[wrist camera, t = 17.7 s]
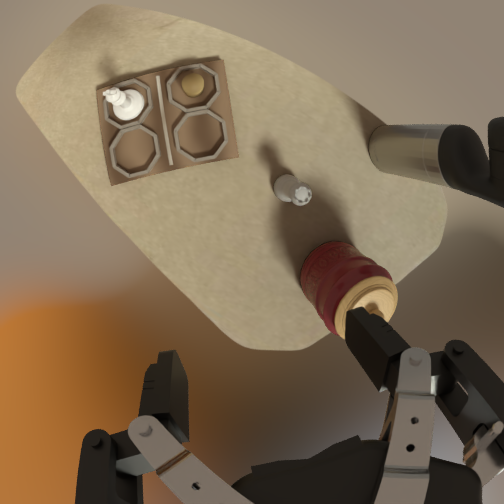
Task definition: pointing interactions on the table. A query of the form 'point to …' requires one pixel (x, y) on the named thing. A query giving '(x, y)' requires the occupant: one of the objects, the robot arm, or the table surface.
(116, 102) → the chess piece
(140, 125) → the brown octagon slot tray
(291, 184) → the rook chess piece
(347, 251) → the canister
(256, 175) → the table surface
